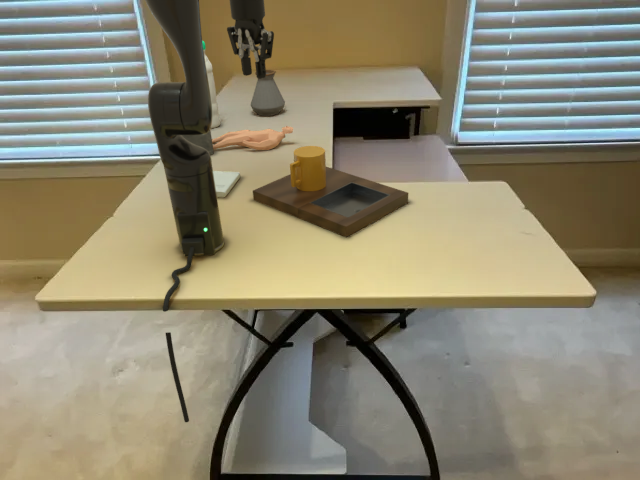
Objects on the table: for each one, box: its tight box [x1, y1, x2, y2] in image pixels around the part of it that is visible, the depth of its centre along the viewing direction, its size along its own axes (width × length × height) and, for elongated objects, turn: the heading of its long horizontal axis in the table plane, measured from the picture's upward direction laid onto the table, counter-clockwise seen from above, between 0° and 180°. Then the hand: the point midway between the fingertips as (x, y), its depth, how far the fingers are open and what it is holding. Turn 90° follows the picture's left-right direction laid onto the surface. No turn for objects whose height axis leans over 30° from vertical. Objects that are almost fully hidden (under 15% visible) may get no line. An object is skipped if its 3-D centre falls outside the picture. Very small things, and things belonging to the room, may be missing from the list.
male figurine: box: [212, 125, 294, 151], centre depth 175 cm, size 11×5×25 cm
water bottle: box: [202, 40, 221, 130], centre depth 184 cm, size 7×7×25 cm
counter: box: [252, 166, 409, 238], centre depth 142 cm, size 30×22×2 cm
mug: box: [289, 145, 327, 191], centre depth 142 cm, size 10×7×8 cm
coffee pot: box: [250, 69, 286, 117], centre depth 200 cm, size 21×12×15 cm, turn 8°
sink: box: [310, 182, 390, 218], centre depth 139 cm, size 12×15×2 cm
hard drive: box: [213, 170, 241, 198], centre depth 152 cm, size 2×8×12 cm
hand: (254, 76), depth 141 cm, fingers open, 4 cm apart
